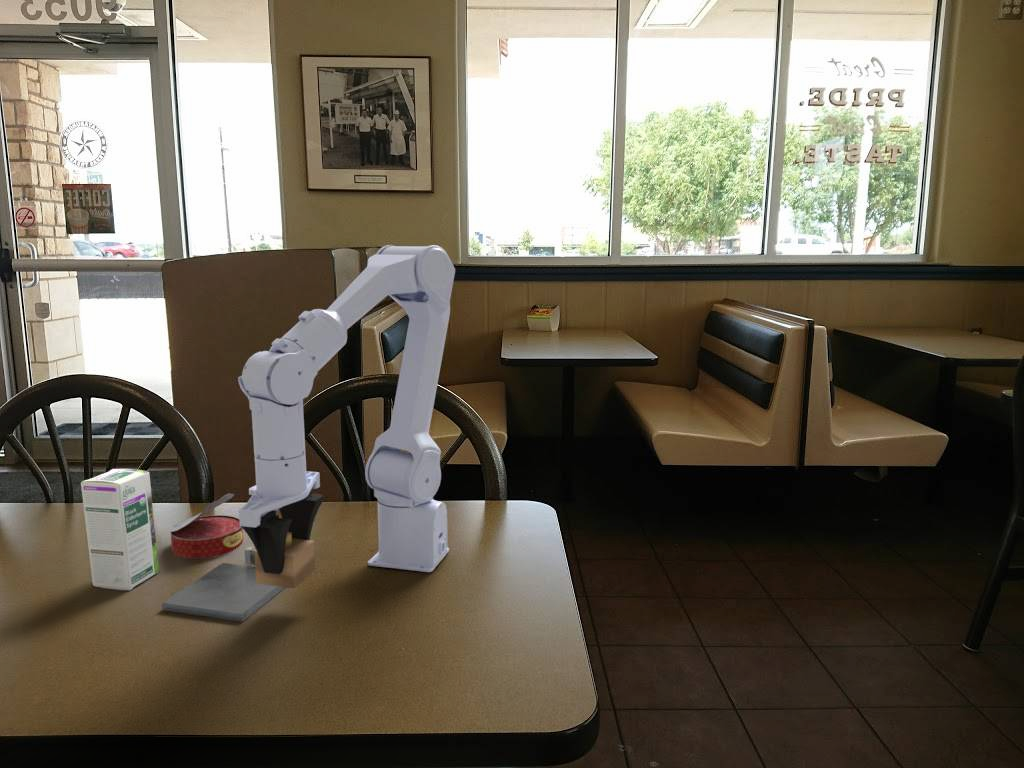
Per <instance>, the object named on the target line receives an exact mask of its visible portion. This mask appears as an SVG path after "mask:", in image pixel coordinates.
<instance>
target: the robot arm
mask: <svg viewBox="0 0 1024 768" xmlns="http://www.w3.org/2000/svg"><path fill="white" fill-rule="evenodd" d="M455 275H456V268H455V267H454V264H453V261H452V260H451V259H450V256H449V254H448V253H447V252H446V250H445V249H444V248H443V247H441V246H439V245H434V244H433V245H427V246H426V245H425V246H423V245H422V246H419V245H418V246H415V245H414V246H410V245H409V246H405V245H404V246H399V245H398V246H396V245H392V244H386V245H384V246H382V247H381V248H380V249H378V250H377V252H376V253H375V254H373V255H372V256H370V257H368V259H367V266H366V268H364V269H363V270H362V271H361V273H360V274H359V275H358V276H357V277H356V278H355V279H354V280H353V281H352V282H351V283H350V284H349V285H348V287H347V288H345V289H344V291H343V292H342V293H341V294H340V295H339V296H338V297H337V298H336V299H335V300H334V301H333V302H332V304H330V306H328V308H327V309H322V308H316V309H315V308H314V309H312V310H310V311H309V310H304V311H303V312H302V313H301V314H300V315H299V316H298V319H299V321H298V322H297V323H296V324H295V325H293V327H291V329H290V330H288V332H286V333H284V335H283V336H282V337H281V338H275V340H273V341H272V342H271V346H270V349H269V350H268V351H267V350H263V351H258V352H256V353H254V354H253V355H251V356H250V357H249V358H248V359H247V360H246V362H245V365H244V366H243V369H242V374H241V375H240V376H238V377H237V380H238V381H237V382H238V384H239V387H240V390H241V391H242V393H243V394H244V395H245V396H246V397H247V399H248V402H249V410H251V420H252V423H251V424H252V437H253V438H252V439H253V455H254V468H255V469H254V470H255V485H254V486H251V487H249V488H248V495H251V497H250V498H249V499H248V500H247V502H246V504H245V505H243V506H242V507H241V508H239V509H238V519H239V521H240V526H241V527H242V530H244V532H245V533H246V534H247V536H248V537H249V539H250V540H251V542H252V544H253V546H254V547H255V548H256V551H257V553H258V556H259V558H260V561H261V564H262V567H263V570H264V572H265V573H272V574H280V573H282V572H283V568H284V558H285V542H286V537H287V533H288V532H291V534H292V538H293V539H303V540H311V539H310V538H311V533H312V531H313V529H312V528H313V525H314V521H315V519H316V515H317V513H318V512H319V509H320V507H321V505H322V503H323V494H320V493H314V492H313V493H312V490H316V489H318V488H320V487H321V482H320V480H321V479H320V477H321V476H320V472H317V471H307V460H306V440H305V439H306V438H305V437H306V436H305V419H304V417H305V416H304V399H306V398H308V397H309V395H310V394H311V392H312V389H313V385H314V380H315V378H316V376H317V375H319V373H318V372H319V371H320V370H321V369H322V368H323V367H324V366H325V365H326V364H327V363H328V362H329V361H331V360H332V358H333V357H334V356H335V355H336V354H338V352H339V351H340V350H341V349H342V348H343V347H344V346H345V345H346V344H347V342H348V341H347V340H348V329H349V328H351V327H352V326H353V325H354V324H356V322H358V321H359V320H360V319H361V318H363V317H364V316H365V315H366V314H367V313H369V312H370V311H371V310H372V309H373V308H374V307H376V306H377V305H378V304H379V303H380V302H382V300H384V299H385V298H386V297H387V296H389V297H390V298H391V299H392V300H394V301H395V302H396V303H397V304H398V305H399V306H400V307H401V308H402V309H403V310H404V312H405V313H406V315H407V316H408V319H409V321H408V326H407V331H406V337H405V342H404V349H403V353H402V360H401V366H400V369H399V370H400V371H399V376H398V380H397V386H396V391H395V393H396V394H395V399H394V403H393V404H394V405H393V410H392V414H391V419H390V425H389V428H388V429H386V431H384V432H383V433H381V434H380V435H379V436H377V437H376V439H375V442H374V446H373V450H372V452H371V454H370V455H369V457H368V460H367V461H366V464H365V468H364V469H365V470H364V475H365V477H364V478H365V481H366V483H367V485H368V486H369V487H370V488H371V489H373V497H375V498H376V499H377V530H378V531H377V532H378V534H377V535H378V538H377V539H378V551H377V553H375V554H374V555H373V557H371V558H370V559H369V560H368V561H367V565H368V566H370V567H371V566H372V567H381V568H387V569H388V568H389V569H395V570H396V569H397V570H407V571H415V572H421V573H431V572H433V571H434V570H435V569H436V567H437V566H438V565H439V564H440V562H441V561H442V560H443V559H444V557H445V556H446V555H447V554H448V553H449V552H450V548H449V547H448V508H447V505H446V503H445V502H443V501H440V500H439V501H438V500H435V499H434V497H435V495H436V494H437V492H438V490H439V487H440V485H441V482H442V481H441V480H442V471H441V463H440V462H441V454H442V451H441V450H442V449H440V447H439V446H438V444H437V443H436V442H435V440H434V439H433V438H432V436H431V435H430V428H431V424H432V423H431V421H432V418H433V417H432V416H433V410H434V406H435V399H436V394H437V389H438V382H439V377H440V371H441V367H442V360H443V355H444V349H445V344H446V337H447V332H448V328H449V327H448V326H449V321H450V317H451V316H450V315H451V297H452V291H453V285H454V279H455ZM401 450H402V451H401ZM404 451H405V452H404ZM406 451H407V452H406ZM278 510H279V513H280V515H279V514H277V511H278ZM280 516H281V517H280Z"/></svg>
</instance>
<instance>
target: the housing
mask: <svg viewBox="0 0 1024 768" xmlns="http://www.w3.org/2000/svg"><path fill="white" fill-rule="evenodd" d="M315 556H316V555H315V540H311V539H310V540H303V539H293V538H292V534H291V532H288V533H287V537H286V542H285V558H284V568H283V572H282V573H280V574H272V573H265V572H264V570H263V567H262V564H261V561H260V558H259V556H258V553H257V551H255V565H254V567H255V571H256V584H262V585H270V586H278V587H285V588H289V589H295V588H297V587H298V586H299V585H300V584H302V583H304V581H305V580H307V579H308V578H309V577H310V576H312V575H313V574H314V573H315V572H316V557H315Z"/></svg>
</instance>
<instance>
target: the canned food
mask: <svg viewBox="0 0 1024 768" xmlns="http://www.w3.org/2000/svg"><path fill="white" fill-rule="evenodd" d="M234 496H235V493H227V494H225V495H223V496H222V497H220V498H219V499H217V500H215V501H212V502H211V503H209V505H208V506H206V507H205V508H204V509H203V511H202V512H200V513H198V514H196V515H194V516H192V517H190V518H189V517H188V518H187V519H186V520H183V521H181V522H179V523H177V524H175V525H174V526H173V527H172V528H171V529H170V531H169V532H170V538H171V539H170V540H171V550H172V553H173V555H175V554H176V555H177V557H179V556H180V558H183V557H186V558H185V559H192V558H197V559H208V558H215V557H218V555H219V556H223V555H226V554H229V553H231V552H233V550H234V551H235V550H237V549H238V547H239V546H240V545H241V544H243V543H244V535H243V534H244V531H243V530H244V529H243V528H242V527H241V526H240V521H239V517H236V516H232V515H224V514H223V515H222V514H221V515H220V514H219V515H217V514H214V515H206V514H207V513H209V512H210V511H212V510H213V509H215V508H216V507H219V506H221V505H222V504H223V503H225V502H227V501H229V500H230V499H232V498H233V497H234ZM204 515H206V516H204ZM242 542H243V543H242ZM241 546H242V545H241ZM241 546H240V547H241ZM240 547H239V548H240ZM236 548H237V549H236ZM228 552H229V553H228ZM225 553H226V554H225ZM222 554H223V555H222ZM176 555H175V556H176ZM214 556H215V557H214Z"/></svg>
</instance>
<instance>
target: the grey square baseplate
mask: <svg viewBox="0 0 1024 768" xmlns="http://www.w3.org/2000/svg"><path fill="white" fill-rule="evenodd" d="M285 588H286V587H278V586H270V585H262V584H256V571H255V566H251V565H242V564H235V563H225V562H222V563H221V564H218V565H217V566H216V567H214V568H213V569H212V570H209V572H207V573H205V574H204V575H202V576H201V577H199V578H198V579H196V580H195V581H193V582H191V583H189V584H188V585H187V586H185V587H184V588H182V589H181V590H179V591H178V592H176V593H175V594H173V595H172V596H170V597H168V598H167V599H165V600H164V601H163V602H162V603H161V605H162V606H161V608H162V611H165V612H170V613H171V612H172V613H180V614H187V615H193V616H198V617H199V616H200V617H205V618H214V619H219V620H220V619H221V620H228V621H236V622H240V623H241V622H242V623H244V622H245V621H246V620H247V619H248V618H250V617H251V616H252V615H253V614H254V613H255V612H257V611H258V610H259V609H260V608H262V607H263V606H264V605H266V604H267V603H268V602H269V601H270V600H272V599H273V598H274V597H275V596H276V595H278V594H279V593H280V592H281V591H282V590H284V589H285Z"/></svg>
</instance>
